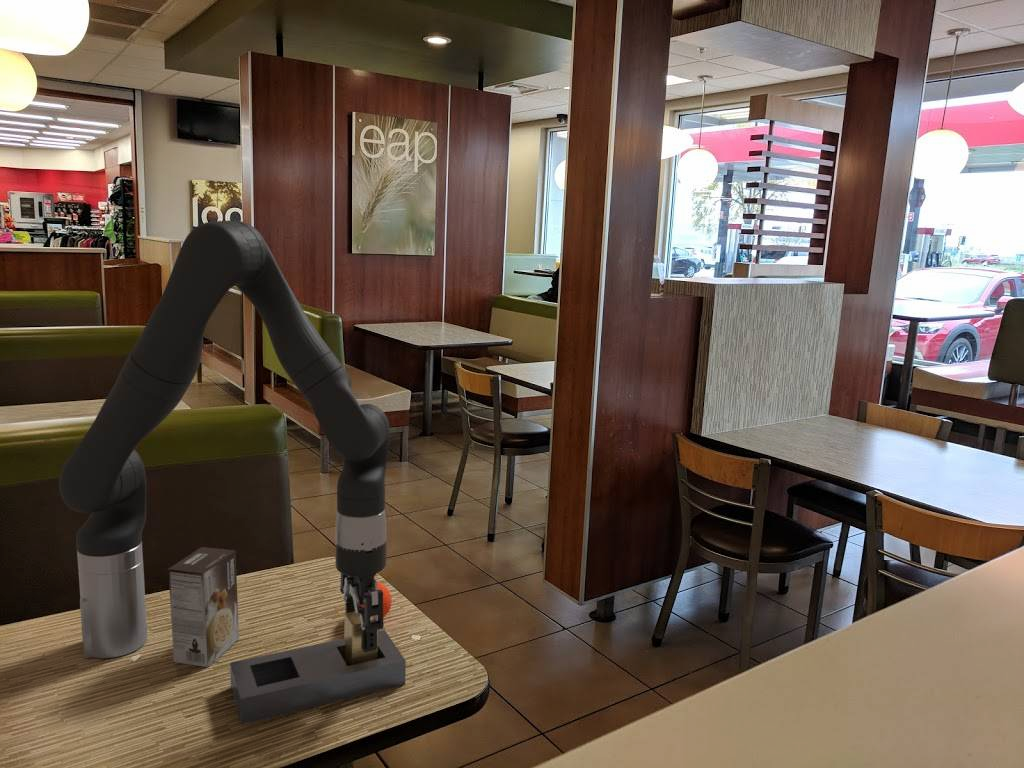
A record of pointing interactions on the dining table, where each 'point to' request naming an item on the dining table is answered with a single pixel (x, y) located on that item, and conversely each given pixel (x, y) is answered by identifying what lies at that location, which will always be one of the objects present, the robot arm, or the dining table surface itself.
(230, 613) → the coffee box
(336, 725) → the dining table surface
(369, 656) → the peg
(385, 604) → the clementine
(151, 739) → the dining table surface
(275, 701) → the rail
